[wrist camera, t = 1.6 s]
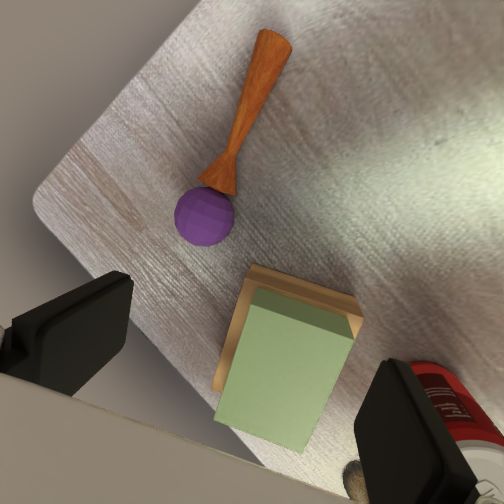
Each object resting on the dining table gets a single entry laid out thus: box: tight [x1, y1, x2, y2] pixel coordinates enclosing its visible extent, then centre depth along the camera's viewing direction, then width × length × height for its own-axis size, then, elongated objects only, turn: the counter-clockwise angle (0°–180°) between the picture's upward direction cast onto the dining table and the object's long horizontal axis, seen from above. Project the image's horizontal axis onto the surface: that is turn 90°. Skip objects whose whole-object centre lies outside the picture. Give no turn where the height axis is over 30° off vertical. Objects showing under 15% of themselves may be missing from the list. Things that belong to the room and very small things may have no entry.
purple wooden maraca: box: [174, 29, 292, 247], centre depth 27 cm, size 6×6×20 cm
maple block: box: [211, 263, 365, 393], centre depth 32 cm, size 14×12×5 cm
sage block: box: [214, 287, 355, 454], centre depth 27 cm, size 13×9×4 cm
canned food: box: [409, 362, 504, 502], centre depth 27 cm, size 8×8×11 cm
